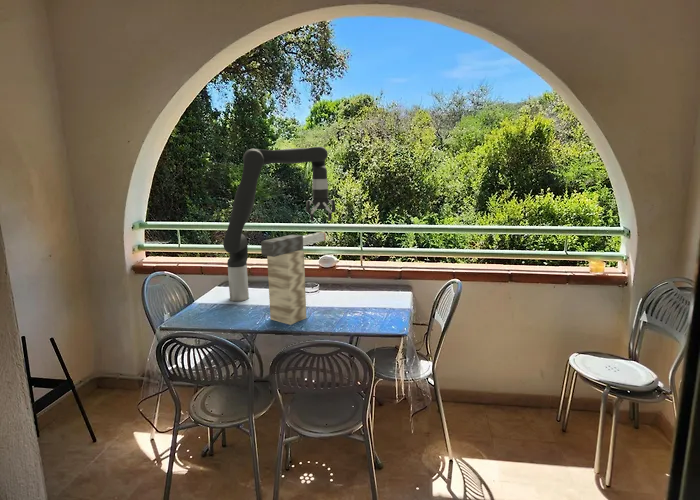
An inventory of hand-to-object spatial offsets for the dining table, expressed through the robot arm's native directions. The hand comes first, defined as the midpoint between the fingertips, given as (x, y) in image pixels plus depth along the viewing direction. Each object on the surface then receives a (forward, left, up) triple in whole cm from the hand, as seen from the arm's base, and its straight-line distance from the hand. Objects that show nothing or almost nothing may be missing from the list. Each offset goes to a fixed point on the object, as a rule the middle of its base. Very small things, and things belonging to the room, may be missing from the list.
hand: (321, 221), depth 225 cm
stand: (-23, -32, -38) cm, 55 cm away
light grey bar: (-12, -23, -7) cm, 27 cm away
